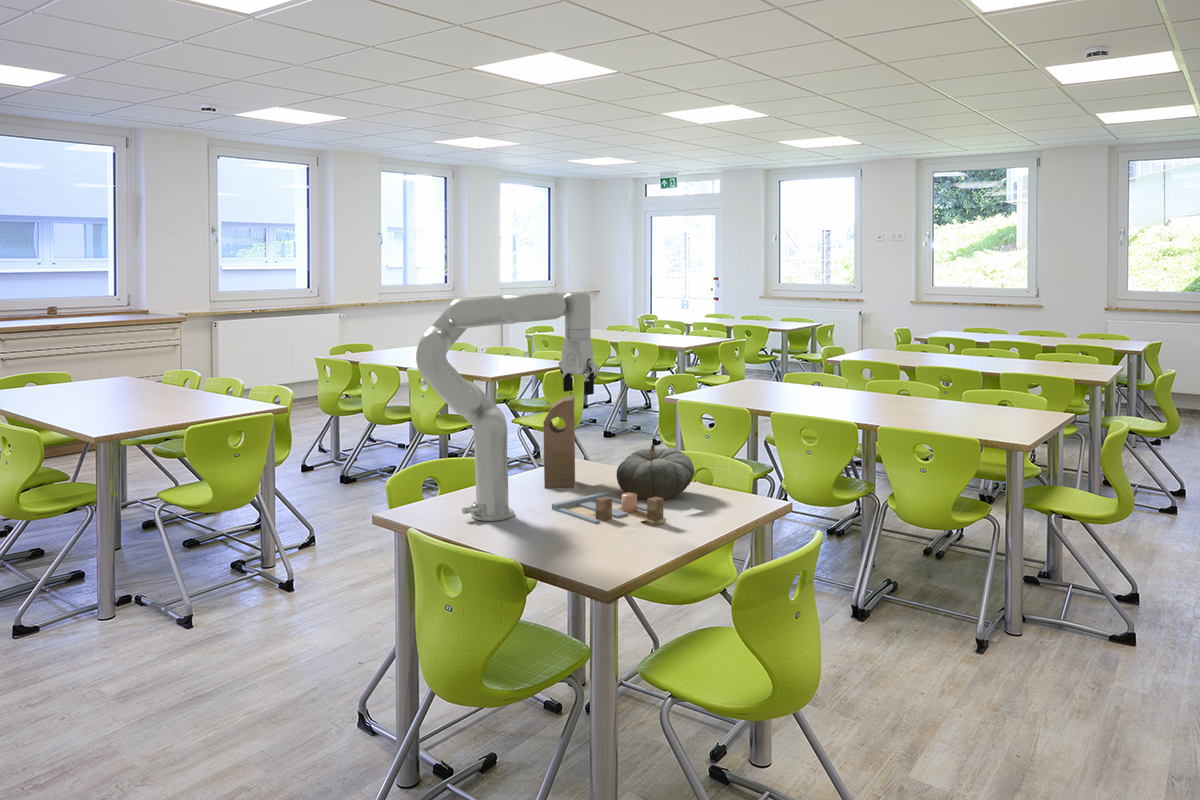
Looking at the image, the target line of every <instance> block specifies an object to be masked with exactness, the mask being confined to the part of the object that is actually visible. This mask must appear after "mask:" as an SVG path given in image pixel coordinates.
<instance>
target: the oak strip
mask: <svg viewBox="0 0 1200 800" xmlns="http://www.w3.org/2000/svg"><path fill="white" fill-rule="evenodd" d="M664 501H665V500H664V499H663V498H660V497H652V498H648V499H646V502H647V503H646V507H647V511H642V510H638V509H637V512H635V513H628V516H632V517H635V518H638V519H641V520H643V521H640V523H642V524H645V525H648V526H651V527H653V526H658V525H660V524H663V523H666V520H667V519H666V517H664V510H665V509H664ZM616 509H617V510H620V511H622V506H621V507H618V508H616Z"/></svg>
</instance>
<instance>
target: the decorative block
mask: <svg viewBox="0 0 1200 800" xmlns="http://www.w3.org/2000/svg"><path fill="white" fill-rule="evenodd" d="M556 418H559V419H562V420H563V421H564V424H565V426H561V427H557V426H555V425H554V424H553V421H552V420H553V419H556ZM575 422H576V421H575V395H570V396H564V397H562V398H560V399H559V400H558V401H556V402H555V403H553V404H552V405H551V407H550V409H549V411H548V413H547V414H546V416H545V418H544V420H543V422H542V423H543V477H544V478H543V479H544V480H543V481H544V486H543V487H544V489H574V488H575V484H576V452H575V451H576V447H575V446H576V444H575V443H576V442H575V441H576V436H575V435H576V434H575V429H576V427H575V425H576V424H575Z"/></svg>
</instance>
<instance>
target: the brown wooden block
mask: <svg viewBox="0 0 1200 800" xmlns="http://www.w3.org/2000/svg"><path fill="white" fill-rule="evenodd" d="M595 503H596V511H595V512H596V513H593V514H589V515H587V516H588V517H591V518H594V519H598V520H600V523H601V522H605V521H609V520H613V519H614V517H612V508H613V502H612V498H609V497H600V498H596V501H595Z"/></svg>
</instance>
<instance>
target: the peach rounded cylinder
mask: <svg viewBox="0 0 1200 800" xmlns="http://www.w3.org/2000/svg"><path fill="white" fill-rule="evenodd" d="M621 500H622V504H621V507H622V511H623V512H626V513H635V512H637V510H638V509H637V505H638V498H637V494H636V493H624V492H623V493H621Z"/></svg>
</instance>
